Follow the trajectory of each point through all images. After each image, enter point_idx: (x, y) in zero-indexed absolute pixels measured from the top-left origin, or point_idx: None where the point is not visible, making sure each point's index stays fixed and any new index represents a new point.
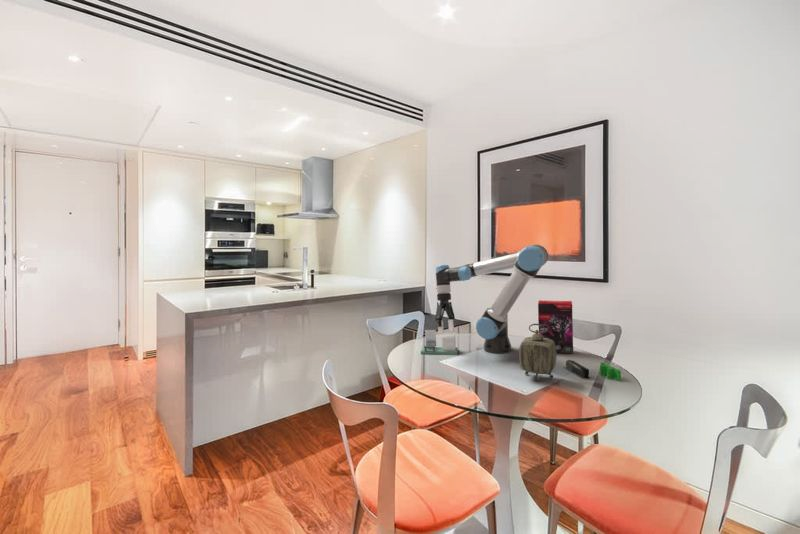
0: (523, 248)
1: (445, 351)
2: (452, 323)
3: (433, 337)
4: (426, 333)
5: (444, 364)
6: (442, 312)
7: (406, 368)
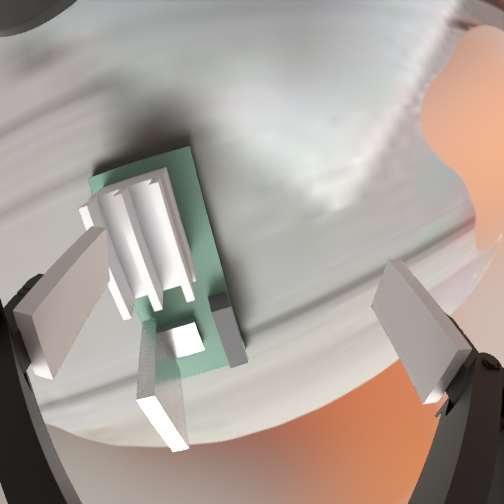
0: None
1: (208, 226)
2: (63, 282)
3: (162, 368)
4: (182, 425)
5: (375, 171)
6: (489, 465)
7: None
